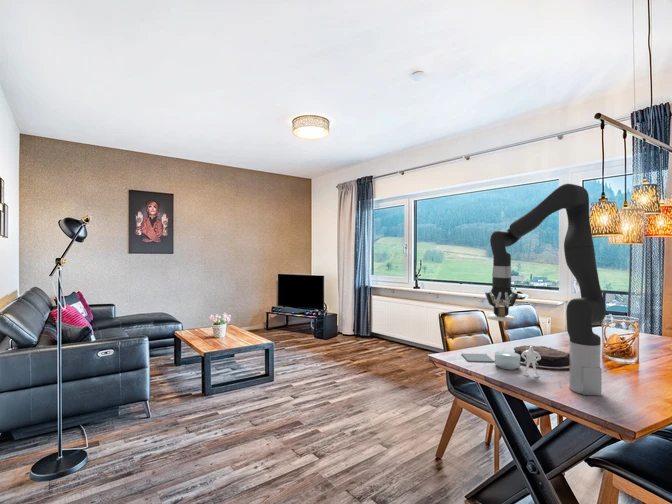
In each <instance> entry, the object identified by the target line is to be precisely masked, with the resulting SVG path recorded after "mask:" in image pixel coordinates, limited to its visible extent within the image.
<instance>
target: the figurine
mask: <svg viewBox="0 0 672 504" xmlns="http://www.w3.org/2000/svg"><path fill="white" fill-rule="evenodd" d="M529 346H530V347H529V350H526V351H524V352H523V353H522V354H521V356H522V357H523V358H524V359H525V360H526V361H525V362H527V365H526V366H525V371H523V373H522V375H523V376H526V377H528V376H529V373H528V370H529V368H530V367H529V365H530V363H532V365H533V367H532V368H533V371H534V374H532V375H533V376H532V377H534V378H539V377H540V374H539V373H538V372H537V368H536V366H535V363H536V364H537V362H536V361H538V360H540V359H541V356H540V355H539V354H538V353H537V352H535V351H534V350H533V347H532V346H533V345H529ZM524 355H526V358H527V359H526V358H525V357H524ZM536 357H538V358H537V359H536ZM535 359H536V360H535ZM525 362H524V363H525Z"/></svg>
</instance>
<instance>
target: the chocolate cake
mask: <svg viewBox="0 0 672 504" xmlns="http://www.w3.org/2000/svg"><path fill="white" fill-rule="evenodd" d="M530 346H532V347H533V350H534V351H535V352H537V353H538V354H539V355H540V356H541V359H540V360H538V361H536V362H537V364H536V363H535V366H536V369H540V370H541V369H544V370H545V369H546V370H550V371H555V370H560V371H566V370H569V360H570V352H566V351H563V350H559V349H557V348H552V347H551V346H550V347H548V346H545V345H537V346H536V345H521V346H515V347H514V348H513V352H514V353H517V354H519V355H520V366H521V365H522V366H525V367H526V365H527V362H525V361H526V360H525V359H524V358H523V357H522V356H521V354H522V353H523V352H524V351H526V350H529V347H530ZM524 357H525V358H526V355H524ZM537 358H538V357H536V359H537ZM526 359H527V358H526ZM536 359H535V360H536ZM524 362H525V363H524ZM529 368H533V365H532V363H530V365H529Z"/></svg>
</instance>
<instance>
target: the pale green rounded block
mask: <svg viewBox="0 0 672 504" xmlns="http://www.w3.org/2000/svg"><path fill="white" fill-rule="evenodd" d="M494 361H495V362H494V364H495V365H496V366H498V368H499V369H503V370H517V369H519V368H520V367H521V364H520V355H519V354H517V353H514V351H509V350H508V351H506V350H505V351H504V350H498V351H495V352H494Z"/></svg>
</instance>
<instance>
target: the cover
mask: <svg viewBox="0 0 672 504" xmlns="http://www.w3.org/2000/svg"><path fill="white" fill-rule="evenodd" d="M487 319H488V320H492V321H496V322H514V321H515V320H516V317H514V316H512V315H509V314H508V315H507V316H505V306H504V305H498V316H496V315H495V314H494V313H493V314H492V313H491V314H487Z"/></svg>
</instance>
